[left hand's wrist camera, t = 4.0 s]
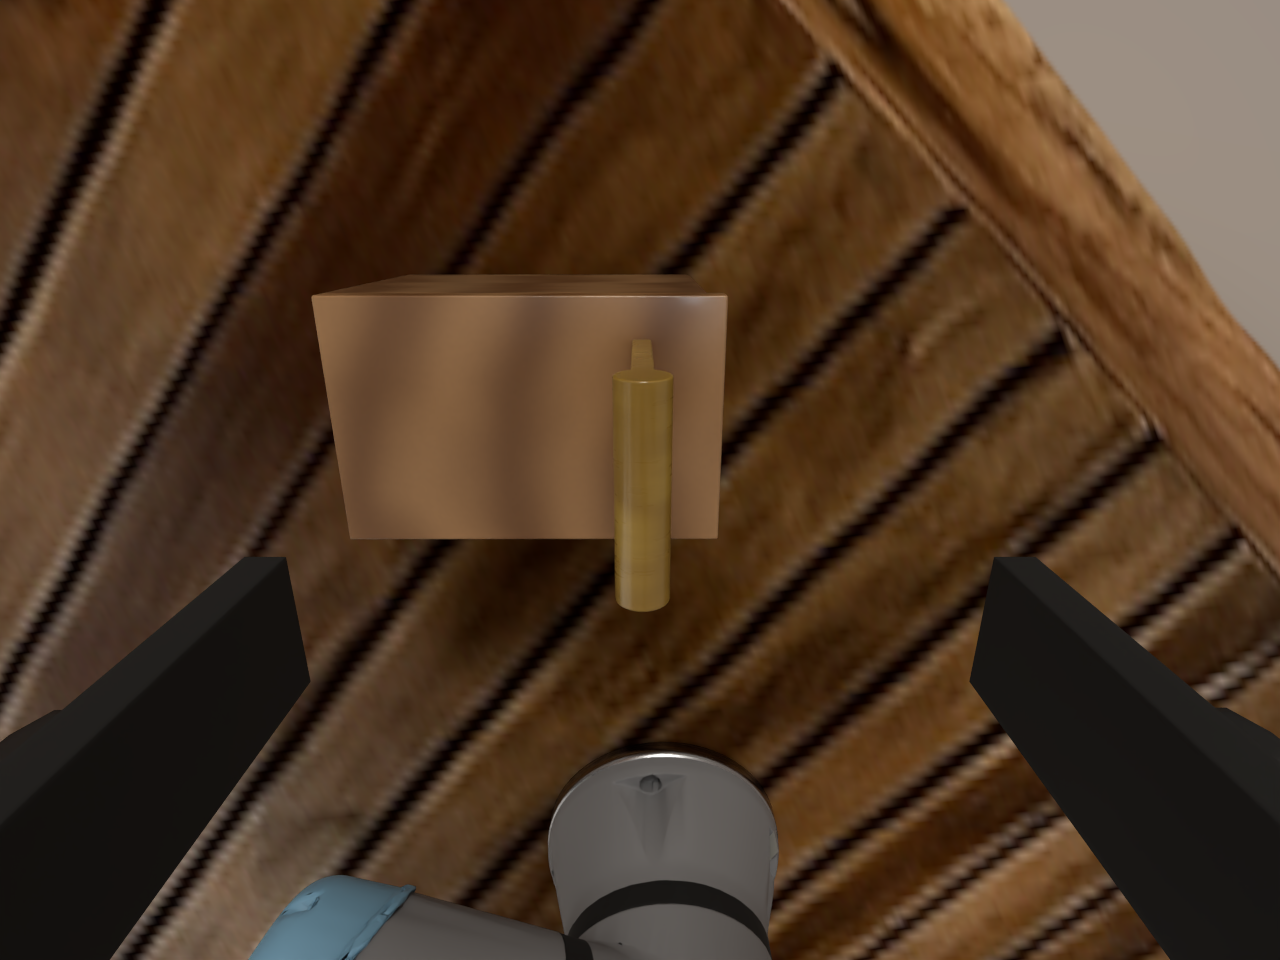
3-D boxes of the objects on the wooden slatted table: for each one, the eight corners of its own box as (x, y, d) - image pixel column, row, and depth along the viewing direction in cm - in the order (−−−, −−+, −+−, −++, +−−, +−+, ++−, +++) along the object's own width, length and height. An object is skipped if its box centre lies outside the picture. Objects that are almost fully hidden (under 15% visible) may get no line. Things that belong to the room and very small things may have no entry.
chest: (689, 274, 35) (707, 292, 25) (684, 453, 38) (700, 528, 28) (408, 274, 34) (323, 292, 25) (428, 453, 38) (359, 528, 28)
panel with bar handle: (724, 292, 25) (766, 326, 17) (715, 529, 28) (746, 653, 20) (322, 292, 25) (168, 326, 17) (359, 529, 28) (244, 654, 20)
